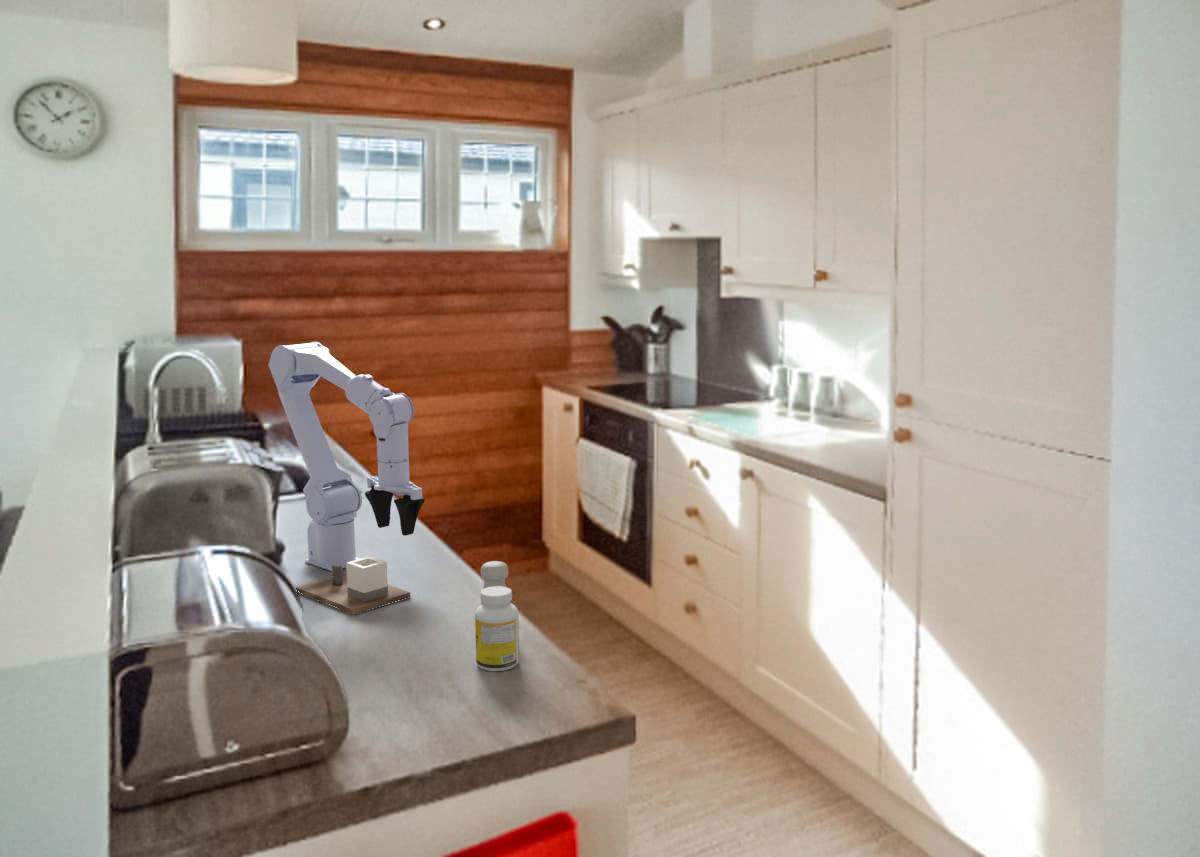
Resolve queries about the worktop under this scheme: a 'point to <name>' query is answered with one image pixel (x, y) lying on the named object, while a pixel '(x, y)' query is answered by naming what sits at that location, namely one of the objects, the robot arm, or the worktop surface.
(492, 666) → the pill bottle
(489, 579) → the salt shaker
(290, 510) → the worktop surface
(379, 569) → the sleeve
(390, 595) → the pin board
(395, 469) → the robot arm
